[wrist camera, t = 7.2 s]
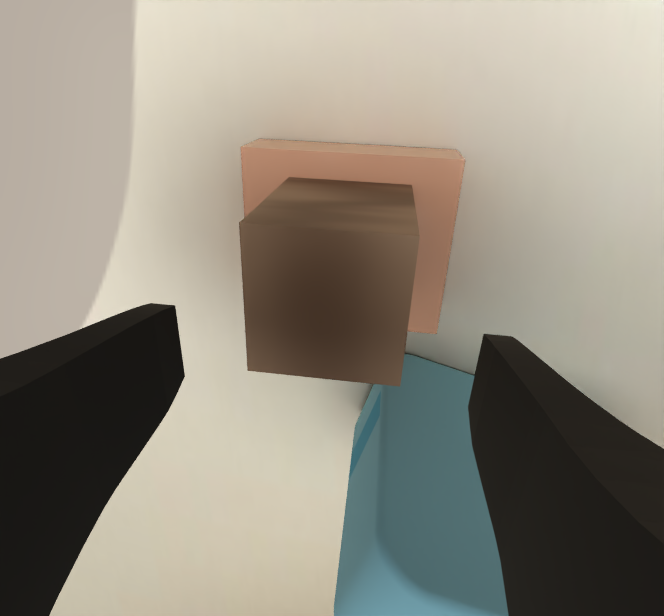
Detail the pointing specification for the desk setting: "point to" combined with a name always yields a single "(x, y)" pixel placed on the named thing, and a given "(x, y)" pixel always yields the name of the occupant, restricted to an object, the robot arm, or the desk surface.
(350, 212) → the walnut block
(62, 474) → the robot arm
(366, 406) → the teal rounded block
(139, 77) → the desk surface
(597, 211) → the desk surface
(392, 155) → the terracotta plinth
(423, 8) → the desk surface
